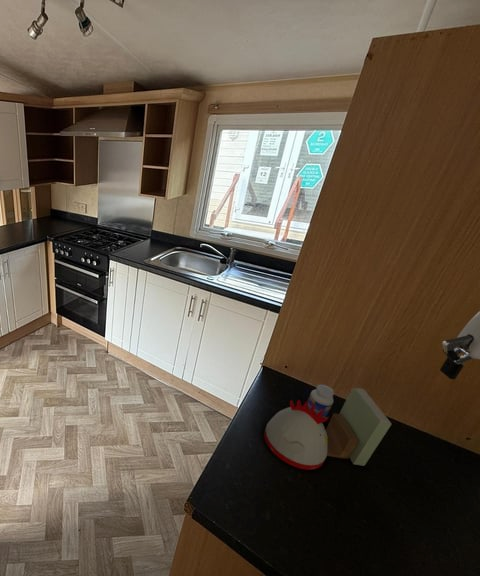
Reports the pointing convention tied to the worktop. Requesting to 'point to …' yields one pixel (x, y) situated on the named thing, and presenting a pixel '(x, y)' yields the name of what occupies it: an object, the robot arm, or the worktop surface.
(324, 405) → the pill bottle
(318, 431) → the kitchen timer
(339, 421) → the bookend
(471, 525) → the worktop surface
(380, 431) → the book
